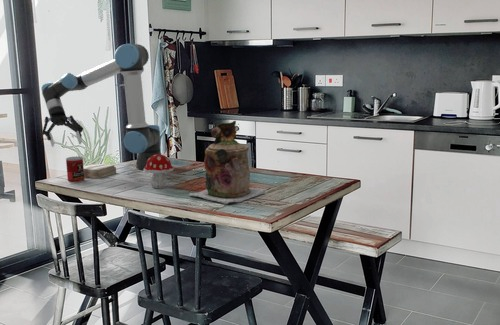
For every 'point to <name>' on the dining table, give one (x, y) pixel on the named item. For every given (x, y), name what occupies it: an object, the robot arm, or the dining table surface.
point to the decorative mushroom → (158, 170)
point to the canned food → (75, 169)
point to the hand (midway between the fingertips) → (67, 144)
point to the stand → (98, 170)
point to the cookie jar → (227, 168)
